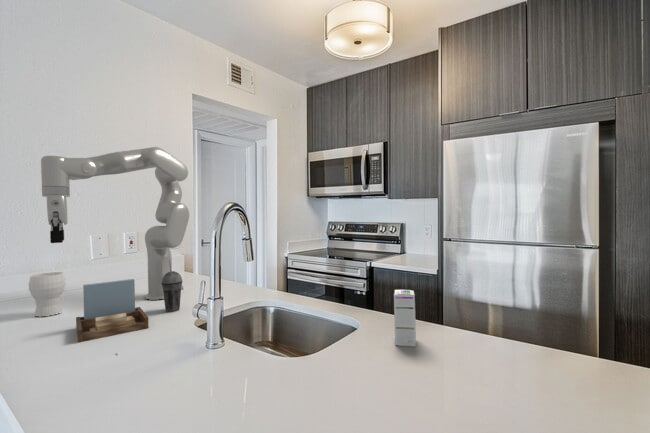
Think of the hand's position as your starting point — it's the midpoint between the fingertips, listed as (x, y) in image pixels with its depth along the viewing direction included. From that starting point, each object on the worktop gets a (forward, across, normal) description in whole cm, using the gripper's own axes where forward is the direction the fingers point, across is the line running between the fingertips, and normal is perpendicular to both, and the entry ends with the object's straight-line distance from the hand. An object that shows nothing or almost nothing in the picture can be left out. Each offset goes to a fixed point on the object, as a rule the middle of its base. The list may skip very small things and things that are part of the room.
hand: (57, 241), depth 116 cm
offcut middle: (+25, -25, -15) cm, 39 cm away
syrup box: (+28, -85, -81) cm, 120 cm away
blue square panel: (+27, -18, -14) cm, 35 cm away
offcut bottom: (+27, -25, -14) cm, 40 cm away
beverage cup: (+28, -14, -34) cm, 46 cm away
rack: (+28, -22, -14) cm, 39 cm away
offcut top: (+24, -25, -14) cm, 38 cm away
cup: (+28, +14, +4) cm, 32 cm away
